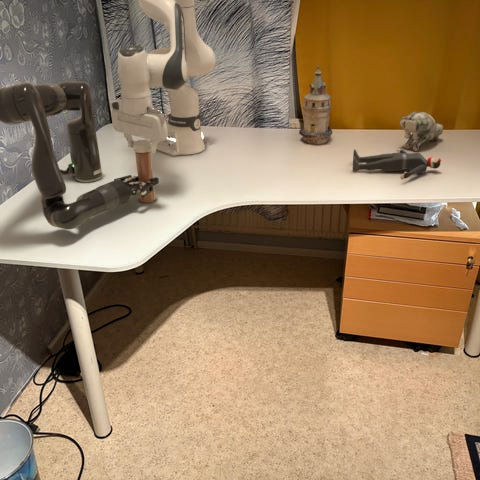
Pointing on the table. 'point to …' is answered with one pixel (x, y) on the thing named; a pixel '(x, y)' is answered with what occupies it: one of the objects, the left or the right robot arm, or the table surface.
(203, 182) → the table surface
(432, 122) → the figurine
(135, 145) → the lid
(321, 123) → the miniature building
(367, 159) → the toy
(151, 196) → the tan tall cylinder
